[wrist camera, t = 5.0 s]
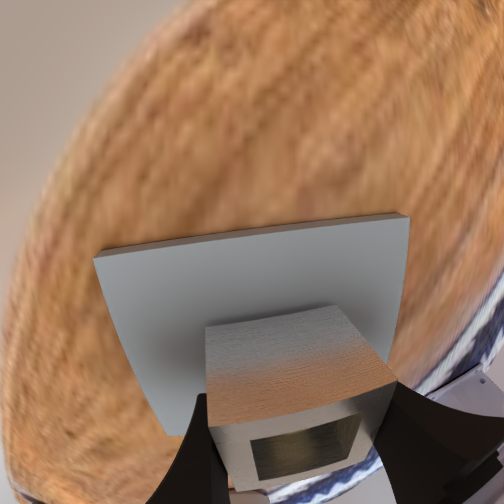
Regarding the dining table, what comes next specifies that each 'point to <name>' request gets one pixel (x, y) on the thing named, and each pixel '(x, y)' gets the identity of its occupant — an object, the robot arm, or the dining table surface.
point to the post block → (246, 294)
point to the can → (247, 497)
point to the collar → (293, 396)
